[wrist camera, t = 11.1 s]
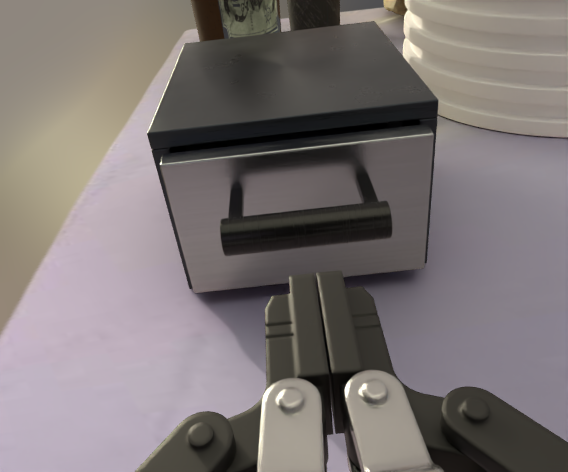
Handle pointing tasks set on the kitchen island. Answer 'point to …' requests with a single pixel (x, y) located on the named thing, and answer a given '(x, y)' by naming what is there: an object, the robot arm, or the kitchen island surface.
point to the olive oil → (235, 18)
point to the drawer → (302, 204)
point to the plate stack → (493, 61)
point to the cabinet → (287, 90)
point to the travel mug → (313, 13)
